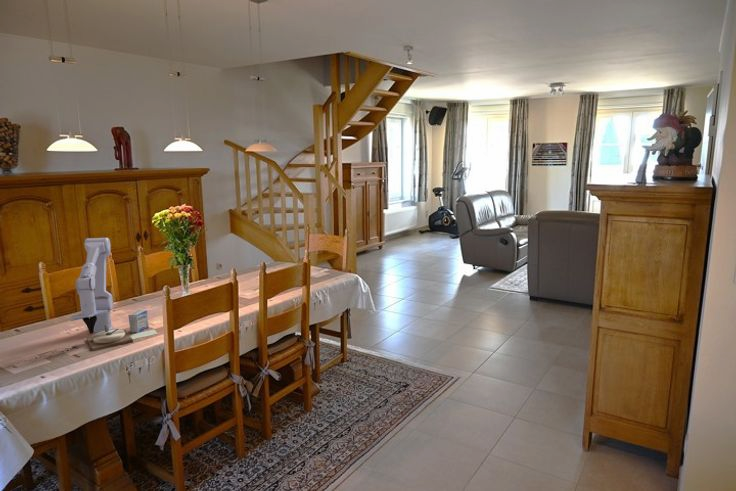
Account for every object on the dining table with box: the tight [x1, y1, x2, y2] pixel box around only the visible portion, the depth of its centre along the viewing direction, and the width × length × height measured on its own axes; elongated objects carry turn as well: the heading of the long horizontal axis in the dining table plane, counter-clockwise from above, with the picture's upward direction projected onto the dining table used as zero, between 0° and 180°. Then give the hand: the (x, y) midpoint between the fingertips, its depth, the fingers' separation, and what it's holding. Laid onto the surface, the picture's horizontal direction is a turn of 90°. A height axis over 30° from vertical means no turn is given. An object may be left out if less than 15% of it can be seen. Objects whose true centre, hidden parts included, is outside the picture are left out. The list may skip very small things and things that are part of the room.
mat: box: [129, 329, 158, 340], centre depth 229 cm, size 7×11×1 cm, turn 127°
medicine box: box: [128, 309, 149, 334], centre depth 234 cm, size 8×4×9 cm, turn 168°
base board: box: [86, 329, 134, 352], centre depth 221 cm, size 16×16×1 cm
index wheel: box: [92, 324, 125, 343], centre depth 220 cm, size 13×13×5 cm
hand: (91, 332), depth 220 cm, fingers closed
